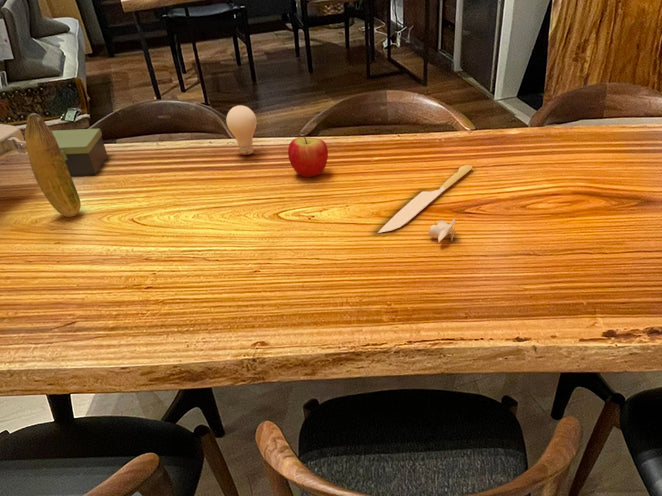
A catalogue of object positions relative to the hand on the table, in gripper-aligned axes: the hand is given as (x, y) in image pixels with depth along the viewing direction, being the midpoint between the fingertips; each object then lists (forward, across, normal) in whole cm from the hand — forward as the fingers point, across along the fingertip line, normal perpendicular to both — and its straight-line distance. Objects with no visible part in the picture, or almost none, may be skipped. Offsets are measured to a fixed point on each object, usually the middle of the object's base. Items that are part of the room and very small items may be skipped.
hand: (10, 157), depth 119 cm
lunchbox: (-5, +20, +11) cm, 24 cm away
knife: (+77, +23, +12) cm, 81 cm away
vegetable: (+9, 0, +11) cm, 14 cm away
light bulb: (+31, +35, +12) cm, 48 cm away
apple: (+50, +28, +12) cm, 58 cm away
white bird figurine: (+83, +8, +12) cm, 84 cm away
